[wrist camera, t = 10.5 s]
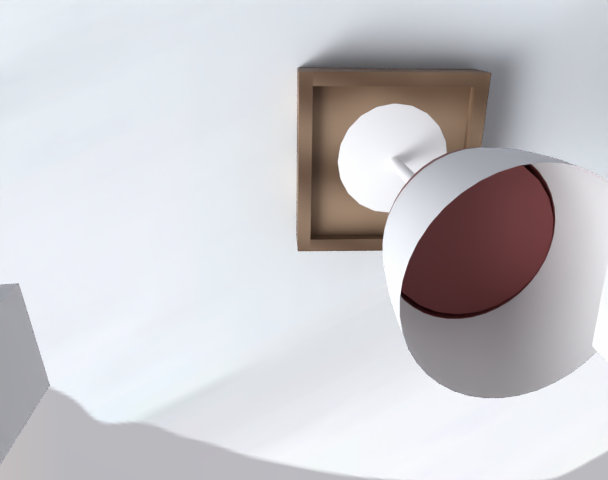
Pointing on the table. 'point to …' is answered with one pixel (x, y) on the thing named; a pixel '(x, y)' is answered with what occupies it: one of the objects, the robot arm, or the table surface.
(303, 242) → the tray
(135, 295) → the table surface
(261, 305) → the table surface
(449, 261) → the wineglass
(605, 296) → the robot arm
